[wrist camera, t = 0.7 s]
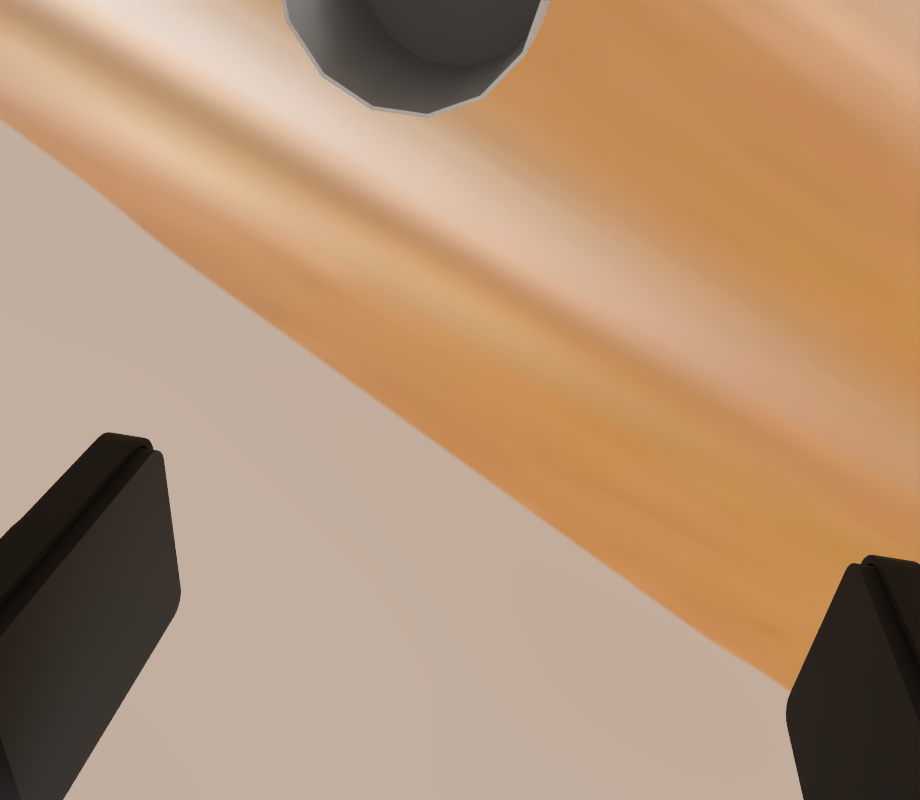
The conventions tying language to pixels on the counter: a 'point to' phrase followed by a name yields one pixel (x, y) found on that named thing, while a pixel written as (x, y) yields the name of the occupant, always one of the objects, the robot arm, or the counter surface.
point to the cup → (415, 48)
